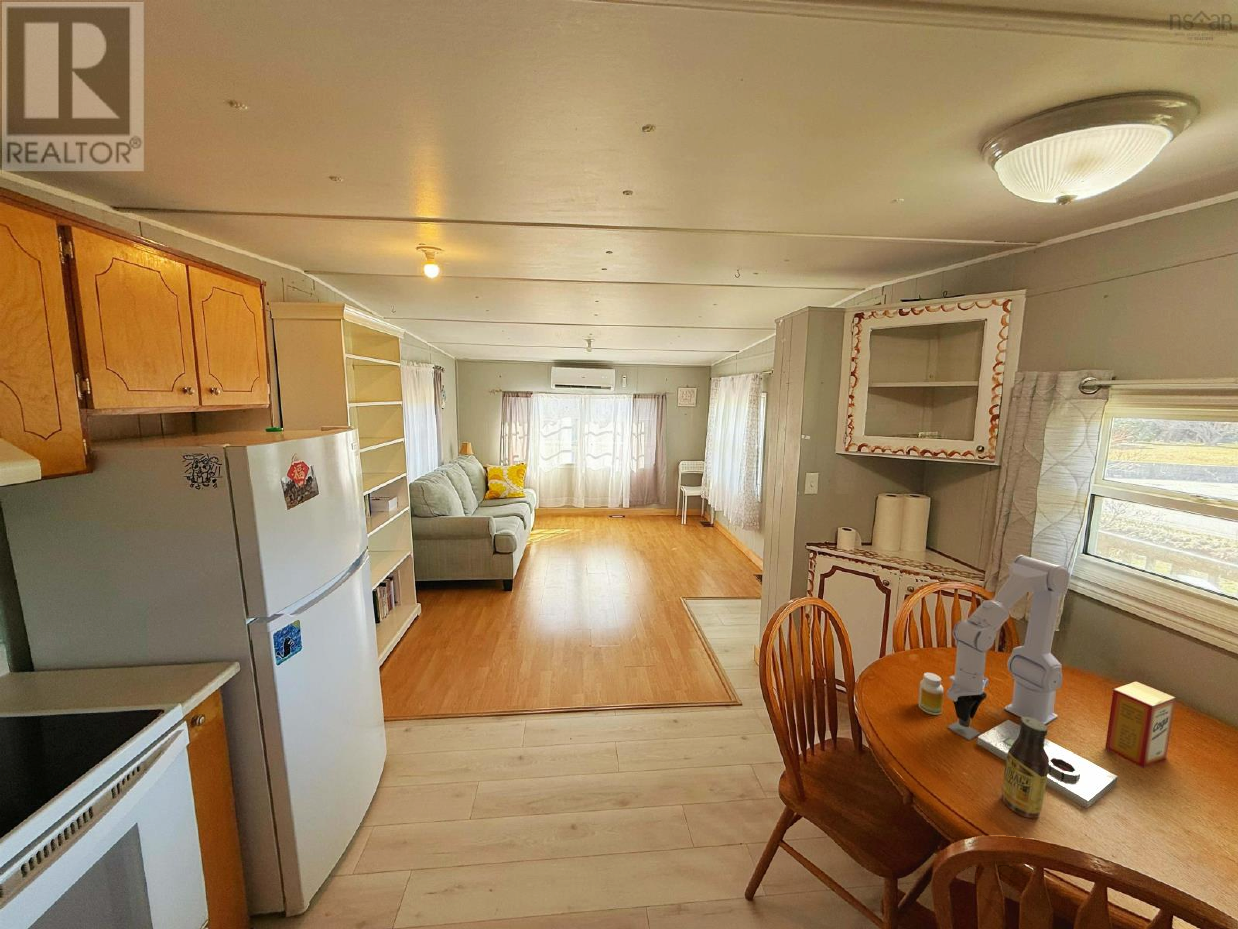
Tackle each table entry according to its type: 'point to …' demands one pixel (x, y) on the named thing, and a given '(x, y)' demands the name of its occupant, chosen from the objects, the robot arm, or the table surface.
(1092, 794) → the panel
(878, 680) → the table surface
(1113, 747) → the baking soda box
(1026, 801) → the sauce bottle
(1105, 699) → the table surface
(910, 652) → the table surface
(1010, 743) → the pad
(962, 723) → the dark grey cylinder
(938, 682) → the supplement bottle
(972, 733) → the pad
